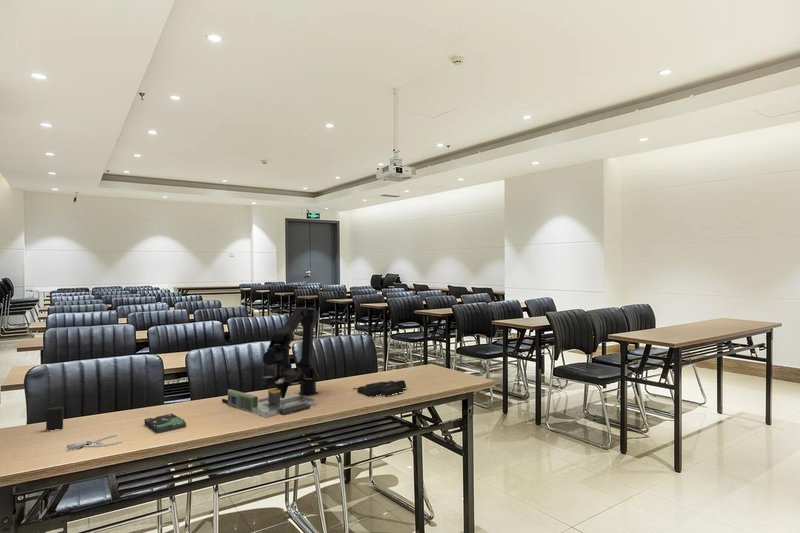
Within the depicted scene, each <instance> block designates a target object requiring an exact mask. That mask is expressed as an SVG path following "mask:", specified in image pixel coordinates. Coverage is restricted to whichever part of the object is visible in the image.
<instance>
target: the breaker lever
mask: <svg viewBox="0 0 800 533" xmlns="http://www.w3.org/2000/svg"><path fill="white" fill-rule="evenodd" d="M267 393H268V396H267V397H268V403H271V404H277V403H280V389H277V388H276V387H274V388H268V389H267Z"/></svg>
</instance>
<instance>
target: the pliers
mask: <svg viewBox="0 0 800 533" xmlns="http://www.w3.org/2000/svg"><path fill="white" fill-rule="evenodd" d="M115 437H118V434H114V435H108V436H104V437H100V438H97V439H93V440H85V441H81V442H74V443H70V444H66V449H67V448H68V449H67V452H70V451H69V450H72V451H75V450H74V449H76V450H79V449H78V448H80V447H86V448H102V446H103V447H109V445H110V446H115V445H119V443H120V444H122V443H123V441H117V442H110V443H109V442H108V443H103V442H102V441H105V440H107V439H111V438H115ZM97 441H98V442H99V443H98V442H97ZM92 443H93V444H92ZM86 444H90V445H86ZM80 449H81V448H80Z"/></svg>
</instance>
